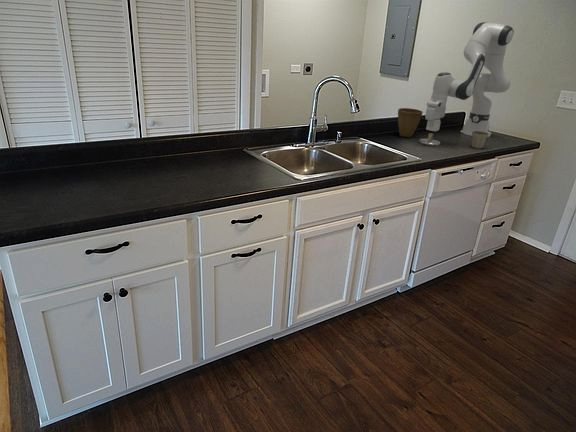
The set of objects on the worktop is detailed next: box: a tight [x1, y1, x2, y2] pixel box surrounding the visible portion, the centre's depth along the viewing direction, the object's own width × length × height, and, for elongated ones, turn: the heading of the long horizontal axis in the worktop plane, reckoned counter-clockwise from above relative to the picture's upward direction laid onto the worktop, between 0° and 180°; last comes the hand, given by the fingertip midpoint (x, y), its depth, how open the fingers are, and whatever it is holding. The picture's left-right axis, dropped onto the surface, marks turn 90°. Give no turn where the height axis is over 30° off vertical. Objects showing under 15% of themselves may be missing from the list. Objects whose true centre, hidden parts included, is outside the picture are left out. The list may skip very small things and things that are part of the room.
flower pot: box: [470, 131, 489, 149], centre depth 235 cm, size 9×9×9 cm
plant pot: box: [397, 107, 424, 138], centre depth 250 cm, size 15×15×16 cm
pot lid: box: [418, 132, 441, 147], centre depth 238 cm, size 12×12×6 cm
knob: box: [425, 118, 442, 132], centre depth 234 cm, size 6×6×7 cm
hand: (433, 126), depth 235 cm, fingers closed on knob, 6 cm apart
